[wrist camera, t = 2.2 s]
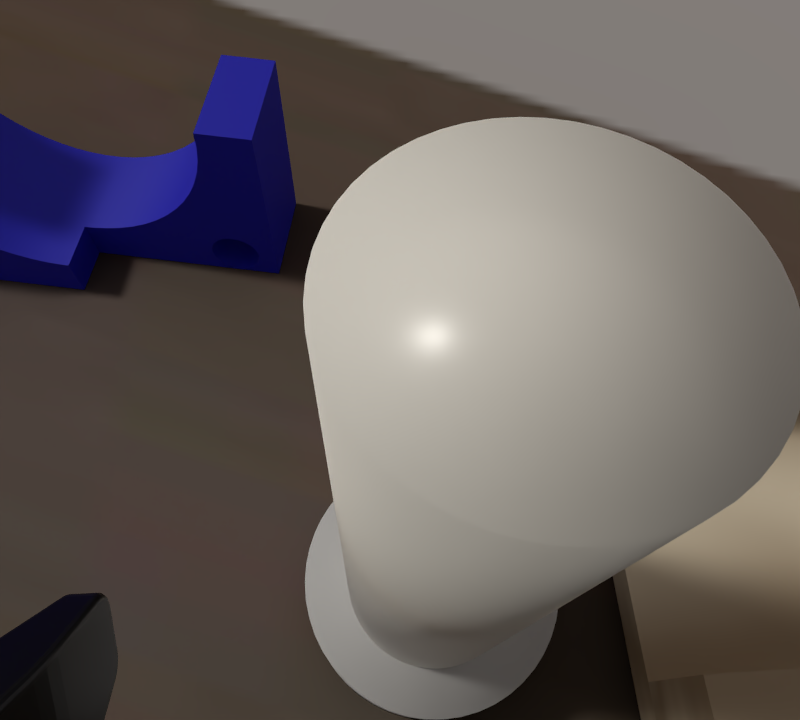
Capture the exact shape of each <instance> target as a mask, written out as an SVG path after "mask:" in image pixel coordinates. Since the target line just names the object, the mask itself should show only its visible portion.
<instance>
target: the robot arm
mask: <svg viewBox="0 0 800 720" xmlns="http://www.w3.org/2000/svg"><path fill="white" fill-rule="evenodd" d="M117 667H118V653H117V646H116V640H115V634H114V628H113V622H112V616H111V610H110V605H109V602H108V599H107V597H106V596H105V595H103V594H102V593H86V594H69V595H66V596H64V597H62V598H60V599H59V600H57V601H56V602H54V603H53V604H51V605H50V606H48V607H47V608H45V609H44V610H42V611H41V612H39V613H38V614H36V615H34V616H33V617H31V618H30V619H28V620H27V621H25V622H24V623H22V624H21V625H19V626H18V627H16V628H15V629H13V630H12V631H10V632H8V633H7V634H5V635H4V636H2V637H1V638H0V720H104V719H105V715H106V711H107V708H108V704H109V700H110V697H111V693H112V689H113V686H114V682H115V678H116V674H117Z"/></svg>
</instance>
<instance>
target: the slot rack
mask: <svg viewBox="0 0 800 720" xmlns="http://www.w3.org/2000/svg"><path fill="white" fill-rule="evenodd" d="M613 581H614V586H615V591H616V596H617V601H618V606H619V611H620V616H621V621H622V626H623V631H624V637H625V642H626V647H627V652H628V657H629V662H630V667H631V672H632V677H633V682H634V687H635V693H636V698H637V703H638V708H639V713H640V718H641V720H800V411H799V414H798V417H797V420H796V423H795V426H794V429H793V431H792V433H791V434H790V436H789V438H788V440H787V442H786V444H785V446H784V448H783V449H782V451H781V453H780V455H779V456H778V458H777V459H776V460H775V461H774V463H773V464H772V465H771V467H770V468H769V469H768V470H767V472H766V473H765V474H764V475H763V477H762V478H761V479H760V480H759V481H758V482H757V483H756V484H755V485H754V486H753V487H751V488H750V489H749V490H748V491H747V492H746V493H745V494H744V495H743V496H741V497H740V498H739V499H738V500H737V501H736V502H734V503H733V504H731V505H729V506H728V507H726V508H725V509H723V510H722V511H720V512H719V513H717V514H715V515H714V516H712V517H711V518H709V519H708V520H706V521H704V522H703V523H701V524H699V525H697V526H696V527H694V528H692V529H691V530H689V531H687V532H686V533H684V534H682V535H681V536H679V537H677V538H676V539H674V540H672V541H671V542H669V543H667V544H666V545H664V546H662V547H661V548H659V549H657V550H656V551H654V552H652V553H651V554H649V555H647V556H645V557H644V558H642V559H640V560H639V561H637V562H635V563H634V564H632V565H630V566H629V567H627V568H625V569H624V570H622V571H620V572H619V573H617V574H615V575H614V576H613Z"/></svg>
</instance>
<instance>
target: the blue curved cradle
mask: <svg viewBox="0 0 800 720" xmlns="http://www.w3.org/2000/svg"><path fill="white" fill-rule="evenodd" d="M193 135H194V139H195V141H194V142H193V143H191V144H189V145H187V146H186V147H184V148H182V149H179V150H177V151H174V152H171V153H167V154H163V155H159V156H152V157H139V158H130V157H116V156H107V155H102V154H96V153H92V152H88V151H84V150H80V149H76V148H73V147H70V146H67V145H64V144H61V143H59V142H56V141H54V140H51V139H48V138H46V137H44V136H42V135H39V134H37V133H35V132H33V131H31V130H29V129H27V128H25V127H23V126H21V125H19V124H17V123H15V122H14V121H12V120H10V119H9V118H7V117H5V116H4V115H2V114H0V280H7V281H15V282H24V283H32V284H41V285H49V286H57V287H66V288H74V289H82V290H85V287H86V285H87V282H88V280H89V277H90V275H91V272H92V270H93V267H94V265H95V262H96V260H97V257H98V255H99V252H102V253H110V254H119V255H127V256H136V257H144V258H153V259H161V260H170V261H178V262H187V263H195V264H204V265H212V266H220V267H229V268H237V269H246V270H254V271H263V272H271V273H279V271H280V267H281V263H282V259H283V255H284V251H285V247H286V243H287V238H288V234H289V230H290V226H291V222H292V218H293V214H294V210H295V206H296V200H295V193H294V186H293V179H292V172H291V165H290V159H289V152H288V145H287V138H286V131H285V124H284V117H283V110H282V104H281V97H280V90H279V83H278V76H277V69H276V62H275V61H272V60H263V59H254V58H245V57H236V56H227V55H221V57H220V60H219V63H218V66H217V68H216V71H215V74H214V77H213V79H212V82H211V85H210V88H209V91H208V93H207V96H206V99H205V102H204V105H203V107H202V110H201V113H200V116H199V119H198V121H197V124H196V127H195V130H194V133H193Z"/></svg>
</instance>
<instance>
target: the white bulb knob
mask: <svg viewBox="0 0 800 720" xmlns="http://www.w3.org/2000/svg"><path fill="white" fill-rule="evenodd" d="M303 308H304V323H305V334H306V340H307V345H308V351H309V357H310V363H311V369H312V375H313V381H314V387H315V393H316V399H317V405H318V411H319V417H320V423H321V429H322V435H323V441H324V447H325V453H326V459H327V465H328V471H329V477H330V483H331V489H332V495H333V500H334V502H333V503H332V504H331V505H330V507H329V508H328V510H327V511H326V513H325V514H324V516H323V517H322V519H321V521H320V523H319V525H318V527H317V530H316V532H315V534H314V537H313V540H312V543H311V546H310V549H309V554H308V559H307V564H306V575H305V592H306V603H307V609H308V614H309V619H310V622H311V625H312V628H313V631H314V634H315V636H316V639H317V641H318V643H319V645H320V647H321V649H322V651H323V653H324V654H325V656H326V657H327V659H328V660H329V662H330V664H331V665H332V667H333V668H334V669H335V671H336V672H337V673H338V675H339V676H340V677H341V678H342V679H343V680H344V682H345V683H346V684H347V685H348V686H349V687H350V688H351V689H353V690H354V691H355V692H356V693H357V694H358V695H359V696H361V697H362V698H364V699H365V700H367V701H368V702H370V703H371V704H373V705H375V706H377V707H379V708H381V709H383V710H385V711H387V712H390V713H393V714H396V715H399V716H403V717H408V718H414V719H432V720H439V719H450V718H458V717H463V716H466V715H470V714H473V713H477V712H480V711H482V710H484V709H486V708H488V707H490V706H492V705H495V704H496V703H498V702H499V701H501V700H502V699H504V698H505V697H507V696H508V695H510V694H511V693H512V692H513V691H514V690H515V689H517V688H518V687H519V686H520V685H521V684H522V683H523V682H524V681H525V680H526V679H527V677H528V676H529V675H530V674H531V673H532V671H533V670H534V669H535V668H536V666H537V664H538V663H539V661H540V660H541V658H542V656H543V655H544V653H545V651H546V648H547V646H548V644H549V642H550V639H551V637H552V633H553V630H554V627H555V623H556V619H557V612H558V608H560V607H562V606H563V605H565V604H567V603H568V602H570V601H572V600H573V599H575V598H577V597H578V596H580V595H582V594H583V593H585V592H587V591H588V590H590V589H592V588H593V587H595V586H597V585H599V584H600V583H602V582H604V581H605V580H607V579H609V578H610V577H612V576H614V575H615V574H617V573H619V572H620V571H622V570H624V569H625V568H627V567H629V566H630V565H632V564H634V563H635V562H637V561H639V560H640V559H642V558H644V557H645V556H647V555H649V554H651V553H652V552H654V551H656V550H657V549H659V548H661V547H662V546H664V545H666V544H667V543H669V542H671V541H672V540H674V539H676V538H677V537H679V536H681V535H682V534H684V533H686V532H687V531H689V530H691V529H692V528H694V527H696V526H697V525H699V524H701V523H703V522H704V521H706V520H708V519H709V518H711V517H712V516H714V515H715V514H717V513H719V512H720V511H722V510H723V509H725V508H726V507H728V506H729V505H731V504H733V503H734V502H736V501H737V500H738V499H739V498H740V497H741V496H743V495H744V494H745V493H746V492H747V491H748V490H749V489H750V488H751V487H753V486H754V485H755V484H756V483H757V482H758V481H759V480H760V479H761V478H762V477H763V475H764V474H765V473H766V472H767V470H768V469H769V468H770V467H771V465H772V464H773V463H774V461H775V460H776V459H777V458H778V456H779V455H780V453H781V451H782V449H783V448H784V446H785V444H786V442H787V440H788V438H789V436H790V434H791V433H792V431H793V429H794V426H795V423H796V420H797V417H798V414H799V411H800V308H799V305H798V302H797V298H796V295H795V292H794V289H793V287H792V285H791V282H790V280H789V278H788V276H787V274H786V272H785V270H784V268H783V265H782V263H781V262H780V260H779V258H778V257H777V255H776V254H775V252H774V250H773V249H772V247H771V246H770V244H769V243H768V241H767V239H766V238H765V237H764V235H763V234H762V233H761V232H760V230H759V229H758V228H757V227H756V225H755V224H754V223H753V222H752V220H751V219H750V218H749V217H748V216H747V215H746V214H745V213H744V212H743V211H742V210H741V209H740V208H739V207H738V206H737V205H736V204H735V203H734V202H733V201H732V200H731V199H730V198H729V197H728V196H727V195H726V194H725V193H724V192H723V191H721V190H720V189H719V188H718V187H716V186H715V185H714V184H713V183H711V182H710V181H709V180H708V179H707V178H705V177H704V176H702V175H701V174H699V173H698V172H696V171H695V170H693V169H692V168H690V167H689V166H687V165H686V164H684V163H683V162H681V161H680V160H678V159H676V158H674V157H672V156H670V155H668V154H667V153H665V152H663V151H661V150H659V149H657V148H655V147H653V146H651V145H648V144H646V143H643V142H641V141H639V140H636V139H634V138H632V137H629V136H626V135H623V134H620V133H617V132H614V131H611V130H608V129H604V128H601V127H597V126H592V125H588V124H583V123H579V122H574V121H566V120H558V119H551V118H533V117H510V118H493V119H486V120H480V121H474V122H467V123H463V124H459V125H455V126H452V127H448V128H444V129H440V130H438V131H435V132H432V133H430V134H427V135H425V136H422V137H419V138H417V139H415V140H413V141H411V142H409V143H407V144H405V145H403V146H401V147H399V148H397V149H396V150H394V151H392V152H390V153H389V154H388V155H386V156H385V157H383V158H382V159H380V160H379V161H377V162H376V163H375V164H373V165H372V166H370V167H369V168H368V169H367V170H366V171H365V172H364V173H363V174H362V175H361V176H359V177H358V178H357V179H356V180H355V181H354V182H353V183H352V184H351V185H350V186H349V187H348V189H347V190H346V191H345V192H344V193H343V195H342V196H341V197H340V198H339V199H338V201H337V202H336V203H335V205H334V206H333V208H332V210H331V211H330V213H329V215H328V216H327V218H326V219H325V221H324V223H323V224H322V226H321V229H320V231H319V234H318V236H317V238H316V241H315V243H314V245H313V248H312V251H311V255H310V259H309V263H308V267H307V271H306V275H305V287H304V298H303Z"/></svg>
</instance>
